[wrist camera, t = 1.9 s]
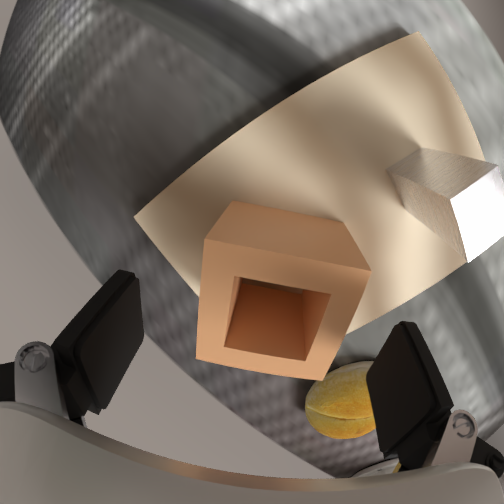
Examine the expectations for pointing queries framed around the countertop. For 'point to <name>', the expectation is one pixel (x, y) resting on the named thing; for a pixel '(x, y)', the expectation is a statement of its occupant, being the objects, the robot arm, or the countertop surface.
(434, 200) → the square shaft
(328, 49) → the countertop surface
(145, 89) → the countertop surface
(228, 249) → the square hollow tube
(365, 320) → the base board
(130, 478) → the robot arm
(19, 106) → the countertop surface
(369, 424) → the bread roll
